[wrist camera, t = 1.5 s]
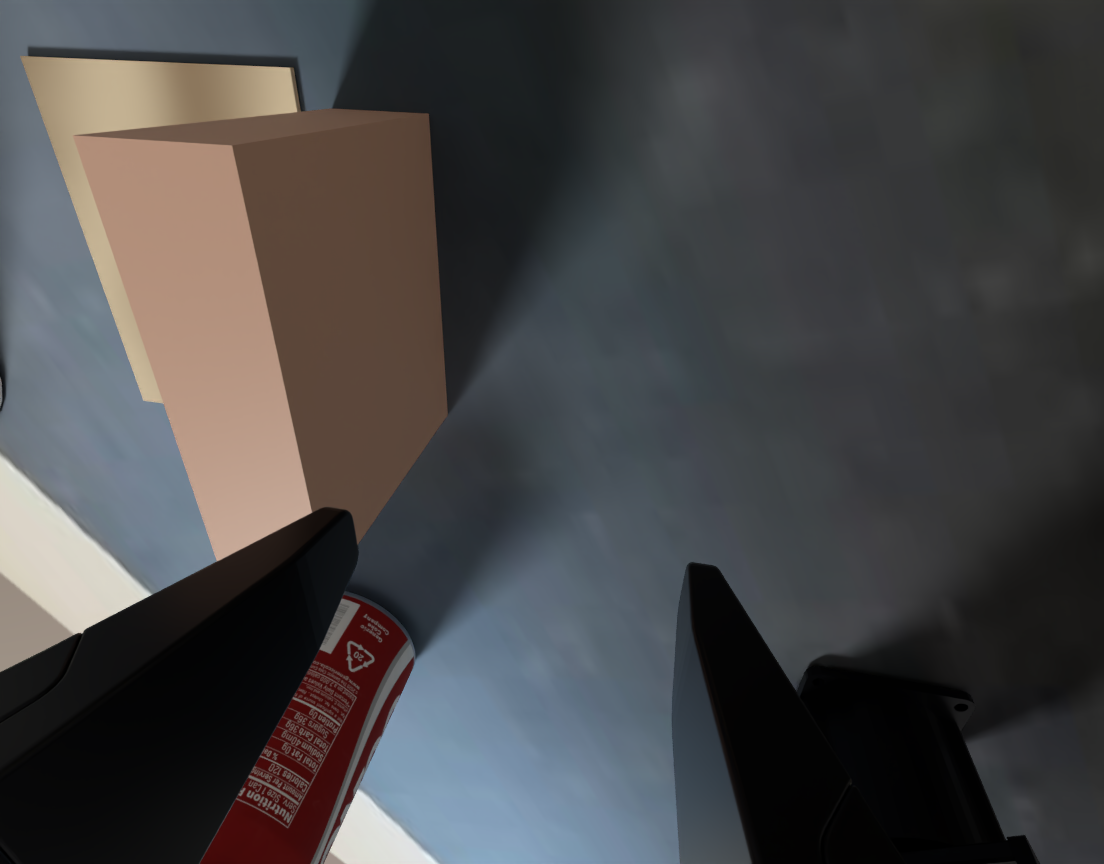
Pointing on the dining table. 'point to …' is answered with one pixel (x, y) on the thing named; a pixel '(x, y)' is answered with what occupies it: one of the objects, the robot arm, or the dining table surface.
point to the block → (282, 304)
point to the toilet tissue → (0, 392)
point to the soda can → (320, 743)
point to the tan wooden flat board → (131, 103)
